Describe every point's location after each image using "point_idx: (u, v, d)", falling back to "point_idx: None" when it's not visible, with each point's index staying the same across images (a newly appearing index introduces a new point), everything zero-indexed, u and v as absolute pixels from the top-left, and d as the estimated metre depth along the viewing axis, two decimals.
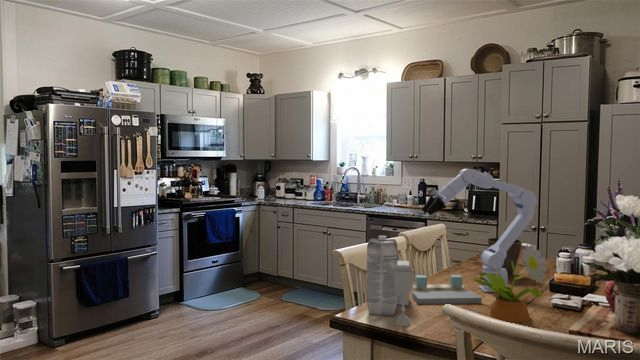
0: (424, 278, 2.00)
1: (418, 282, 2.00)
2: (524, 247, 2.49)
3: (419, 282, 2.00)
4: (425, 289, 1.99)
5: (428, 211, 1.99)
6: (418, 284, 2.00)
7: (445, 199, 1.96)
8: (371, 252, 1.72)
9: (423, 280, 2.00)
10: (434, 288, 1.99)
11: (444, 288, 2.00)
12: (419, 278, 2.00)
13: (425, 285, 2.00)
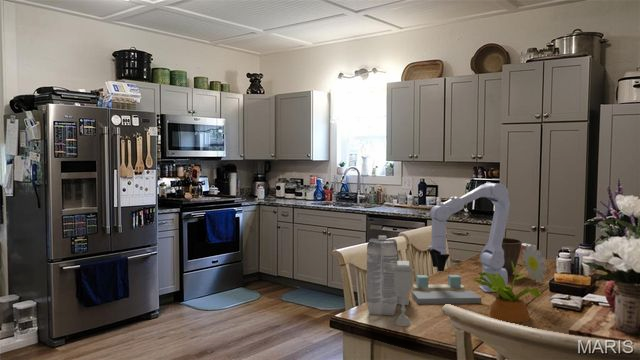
0: (426, 278, 2.00)
1: (420, 282, 2.00)
2: (524, 247, 2.49)
3: (420, 282, 2.00)
4: (425, 289, 1.99)
5: (439, 269, 1.97)
6: (420, 284, 2.00)
7: (442, 251, 1.94)
8: (371, 252, 1.72)
9: (425, 280, 2.00)
10: (434, 288, 1.99)
11: (444, 288, 2.00)
12: (421, 278, 2.00)
13: (427, 285, 2.00)
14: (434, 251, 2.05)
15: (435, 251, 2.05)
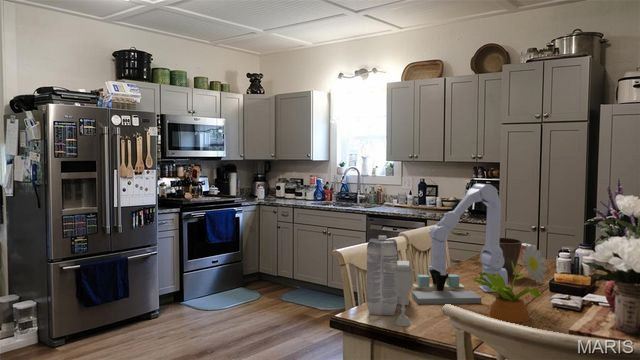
0: (427, 277, 2.00)
1: (421, 282, 2.00)
2: (524, 247, 2.49)
3: (421, 282, 2.00)
4: (425, 289, 1.99)
5: (439, 289, 1.99)
6: (421, 284, 2.00)
7: (442, 272, 1.94)
8: (371, 252, 1.72)
9: (426, 279, 2.00)
10: (434, 287, 1.99)
11: (444, 287, 2.00)
12: (422, 277, 2.00)
13: (428, 284, 2.00)
14: (435, 271, 2.04)
15: (436, 271, 2.04)
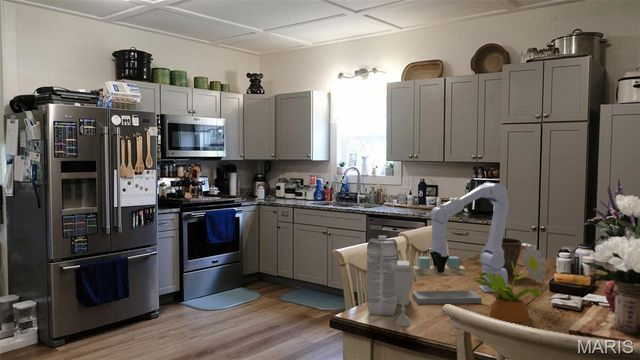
0: (427, 259, 1.99)
1: (421, 263, 1.99)
2: (524, 247, 2.49)
3: (422, 263, 1.99)
4: (425, 270, 1.98)
5: (439, 271, 1.98)
6: (421, 265, 1.99)
7: (442, 253, 1.93)
8: (371, 252, 1.72)
9: (426, 261, 1.99)
10: (434, 269, 1.99)
11: (444, 269, 1.99)
12: (422, 259, 1.99)
13: (428, 266, 1.99)
14: (435, 253, 2.03)
15: (436, 253, 2.03)
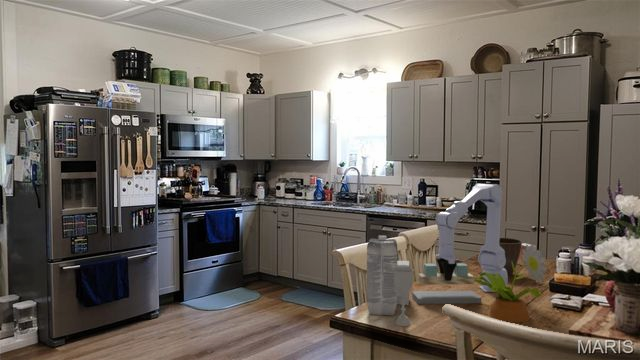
0: (434, 266, 1.89)
1: (428, 271, 1.89)
2: (524, 247, 2.49)
3: (428, 271, 1.89)
4: (432, 278, 1.88)
5: (447, 279, 1.88)
6: (428, 273, 1.89)
7: (450, 260, 1.84)
8: (371, 252, 1.72)
9: (433, 269, 1.89)
10: (441, 277, 1.89)
11: (452, 277, 1.89)
12: (429, 266, 1.89)
13: (435, 274, 1.89)
14: (442, 260, 1.94)
15: (443, 260, 1.94)
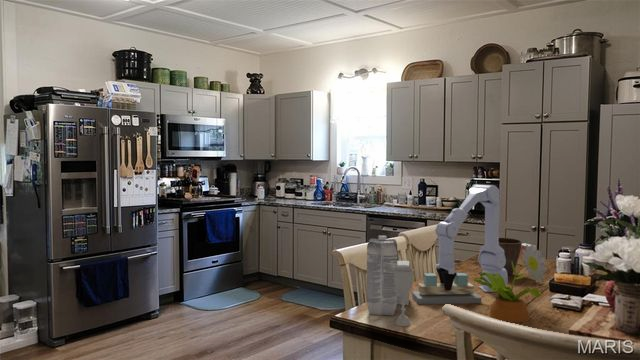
0: (434, 276, 1.89)
1: (428, 281, 1.89)
2: (524, 247, 2.49)
3: (428, 281, 1.89)
4: (432, 288, 1.89)
5: (446, 289, 1.88)
6: (428, 283, 1.89)
7: (450, 271, 1.84)
8: (371, 252, 1.72)
9: (433, 278, 1.89)
10: (441, 287, 1.89)
11: (452, 287, 1.89)
12: (429, 276, 1.89)
13: (435, 284, 1.89)
14: (442, 270, 1.94)
15: (443, 270, 1.94)
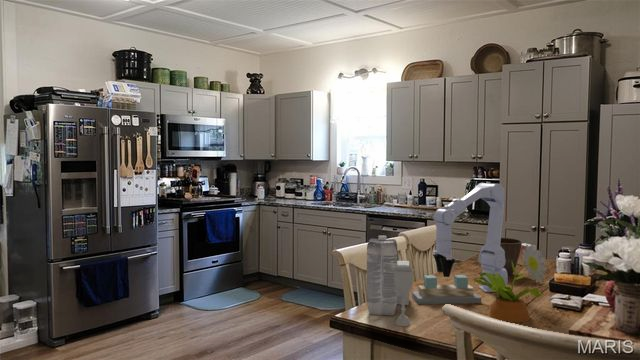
0: (434, 278, 1.89)
1: (427, 283, 1.89)
2: (524, 247, 2.49)
3: (428, 283, 1.89)
4: (432, 290, 1.89)
5: (445, 275, 1.90)
6: (428, 285, 1.89)
7: (448, 256, 1.87)
8: (371, 252, 1.72)
9: (433, 281, 1.89)
10: (441, 289, 1.89)
11: (452, 289, 1.89)
12: (429, 278, 1.89)
13: (435, 286, 1.89)
14: (439, 256, 1.98)
15: (440, 256, 1.98)
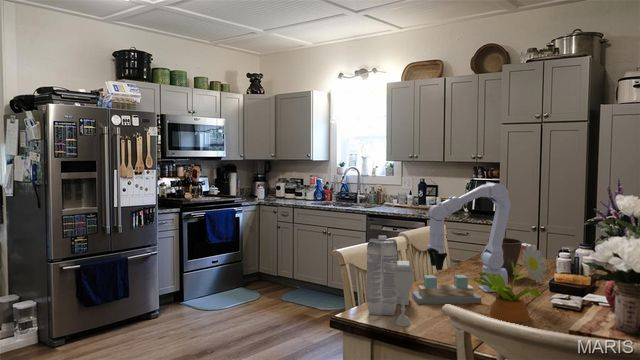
0: (434, 278, 1.89)
1: (427, 283, 1.89)
2: (524, 247, 2.49)
3: (428, 283, 1.89)
4: (432, 290, 1.89)
5: (438, 268, 2.00)
6: (428, 285, 1.89)
7: (440, 250, 1.97)
8: (371, 252, 1.72)
9: (433, 281, 1.89)
10: (441, 289, 1.89)
11: (452, 289, 1.89)
12: (429, 278, 1.89)
13: (435, 286, 1.89)
14: (432, 250, 2.08)
15: (433, 250, 2.08)
